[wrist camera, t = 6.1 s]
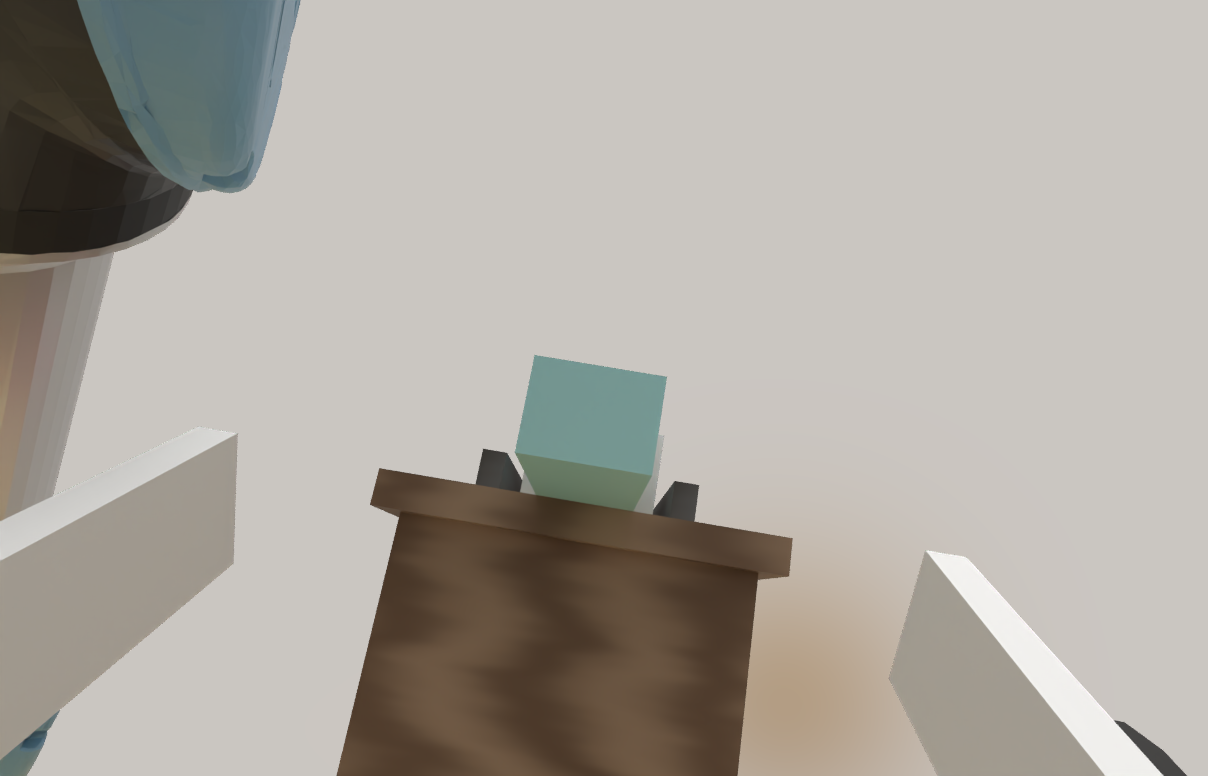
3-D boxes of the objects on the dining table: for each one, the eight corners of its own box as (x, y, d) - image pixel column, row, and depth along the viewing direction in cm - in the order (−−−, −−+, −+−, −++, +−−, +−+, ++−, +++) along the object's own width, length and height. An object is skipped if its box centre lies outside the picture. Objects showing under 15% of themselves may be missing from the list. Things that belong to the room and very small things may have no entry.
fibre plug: (480, 446, 21) (508, 319, 22) (535, 524, 43) (547, 458, 44) (686, 481, 21) (704, 350, 22) (635, 541, 43) (645, 474, 44)
